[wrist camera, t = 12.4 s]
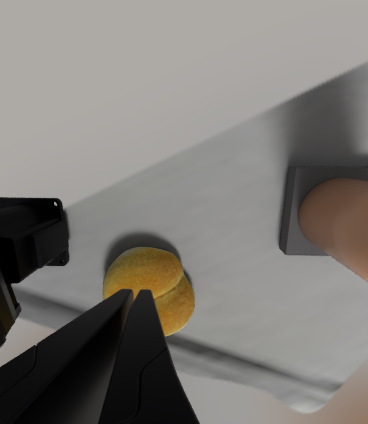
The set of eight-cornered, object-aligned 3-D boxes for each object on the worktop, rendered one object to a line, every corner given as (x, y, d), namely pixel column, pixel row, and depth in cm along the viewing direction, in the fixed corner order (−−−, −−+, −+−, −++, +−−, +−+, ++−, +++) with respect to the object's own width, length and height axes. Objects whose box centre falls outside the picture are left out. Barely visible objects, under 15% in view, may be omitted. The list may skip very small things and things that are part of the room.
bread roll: (167, 230, 22) (162, 247, 18) (204, 307, 24) (206, 337, 20) (91, 262, 23) (71, 284, 19) (132, 332, 25) (121, 366, 21)
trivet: (279, 248, 22) (285, 254, 20) (288, 166, 20) (296, 167, 18) (361, 249, 21) (373, 256, 20) (378, 167, 20) (393, 168, 18)
